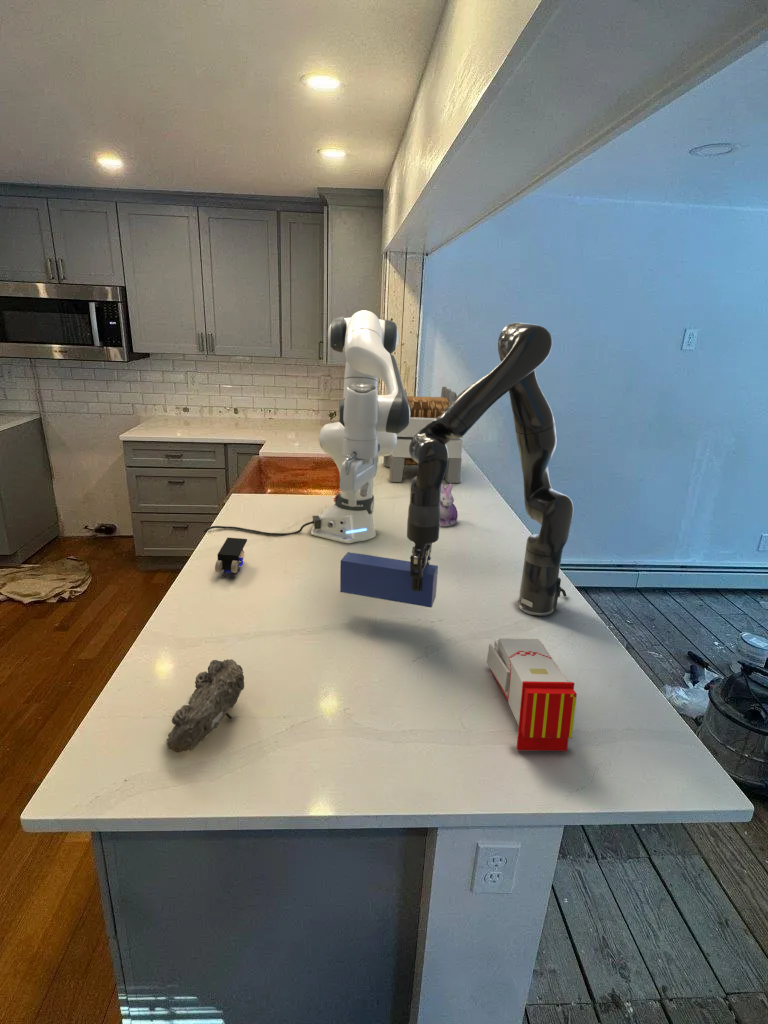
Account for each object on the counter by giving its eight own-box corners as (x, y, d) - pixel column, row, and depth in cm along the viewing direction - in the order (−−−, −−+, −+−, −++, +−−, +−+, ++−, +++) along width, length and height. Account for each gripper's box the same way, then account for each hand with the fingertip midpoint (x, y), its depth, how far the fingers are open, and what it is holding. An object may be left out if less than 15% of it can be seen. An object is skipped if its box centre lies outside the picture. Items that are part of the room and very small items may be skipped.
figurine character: (238, 584, 162) (249, 557, 175) (236, 562, 158) (247, 536, 172) (215, 584, 161) (227, 556, 175) (212, 561, 158) (225, 535, 171)
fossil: (192, 660, 117) (244, 628, 112) (224, 691, 120) (276, 661, 115) (142, 746, 98) (202, 712, 93) (182, 779, 101) (242, 748, 96)
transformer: (382, 463, 289) (386, 382, 275) (445, 464, 293) (451, 384, 279) (390, 482, 257) (394, 392, 243) (460, 483, 261) (468, 394, 247)
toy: (536, 621, 128) (586, 689, 98) (531, 676, 131) (578, 758, 101) (482, 620, 127) (517, 688, 98) (478, 675, 130) (511, 757, 101)
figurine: (442, 528, 206) (446, 489, 201) (428, 519, 214) (431, 481, 209) (464, 525, 210) (468, 486, 205) (449, 516, 218) (452, 479, 213)
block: (340, 592, 142) (340, 560, 139) (347, 582, 147) (347, 551, 144) (431, 607, 136) (433, 575, 133) (435, 597, 141) (438, 565, 138)
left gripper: (358, 458, 134) (357, 513, 138) (382, 443, 153) (380, 492, 157) (333, 455, 135) (332, 510, 140) (360, 441, 154) (358, 490, 159)
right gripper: (433, 532, 125) (428, 601, 131) (445, 512, 138) (440, 574, 144) (400, 528, 127) (397, 595, 132) (415, 508, 140) (411, 570, 145)
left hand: (358, 501), depth 148 cm, fingers open, 8 cm apart
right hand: (419, 584), depth 138 cm, fingers closed on block, 5 cm apart
